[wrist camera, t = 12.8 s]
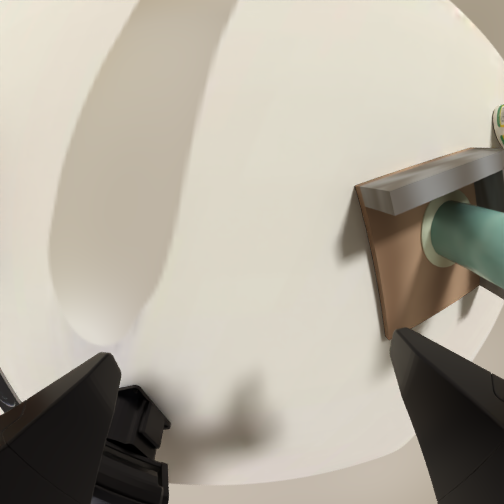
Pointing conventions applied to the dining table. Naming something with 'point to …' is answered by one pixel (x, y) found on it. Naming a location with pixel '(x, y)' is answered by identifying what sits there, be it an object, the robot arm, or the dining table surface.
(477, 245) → the teal bottle
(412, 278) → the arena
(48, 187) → the dining table surface
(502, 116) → the supplement bottle
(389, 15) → the dining table surface
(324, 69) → the dining table surface
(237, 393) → the dining table surface
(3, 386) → the smartphone
